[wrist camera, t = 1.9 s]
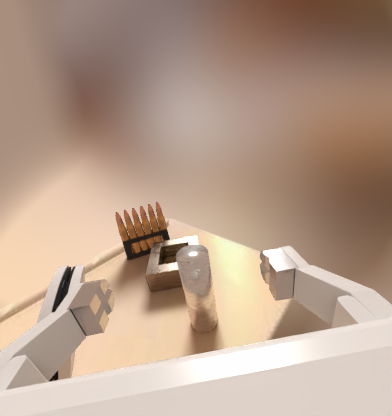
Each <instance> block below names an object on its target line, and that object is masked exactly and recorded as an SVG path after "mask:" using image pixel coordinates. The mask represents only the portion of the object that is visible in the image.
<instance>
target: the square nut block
mask: <svg viewBox="0 0 392 416" xmlns="http://www.w3.org/2000/svg"><path fill="white" fill-rule="evenodd" d="M193 244H197V245H198V239H197V235H196V236H190V237H184V238H178V239H172V240H167V241H161V242H155V243H153V244H152V248H151V252H150V257H149V261H148V265H147V270H146V274H145V276H146V279H147V282H148V285H149V288H150V291H151V292H153V291H159V290H164V289H170V288H176V287H181V286H182V282H181V278H180V274H179V269H178V265H177V261H176V254H177V252H178V251H179V250H180V249H181V248H183V247H185V246H188V245H193Z"/></svg>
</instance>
